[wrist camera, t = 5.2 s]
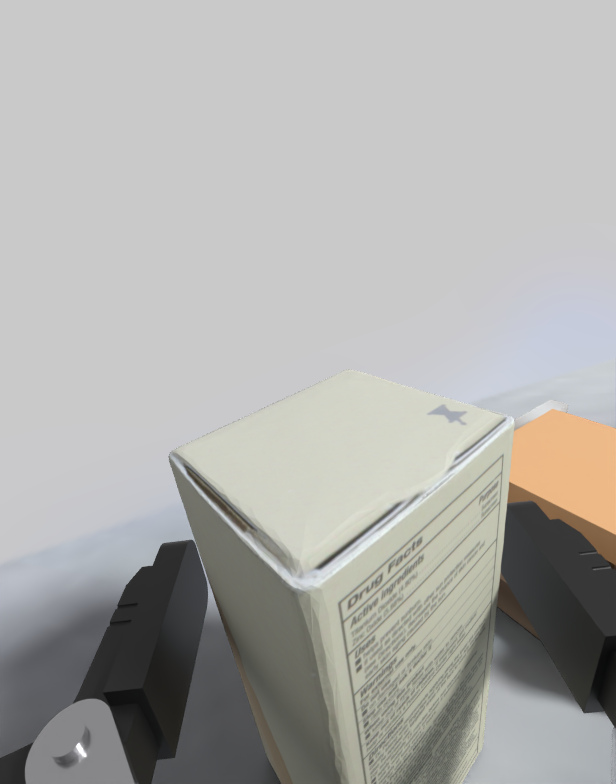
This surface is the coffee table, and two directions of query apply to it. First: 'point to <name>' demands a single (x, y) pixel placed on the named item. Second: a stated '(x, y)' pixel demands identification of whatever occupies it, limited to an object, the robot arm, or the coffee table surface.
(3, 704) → the coffee table surface
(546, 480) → the plate
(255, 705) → the box
